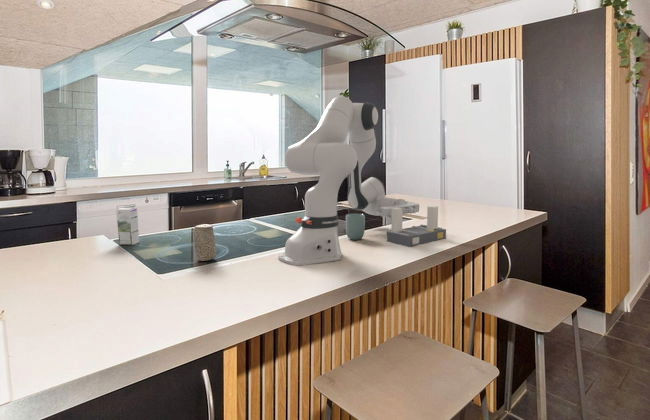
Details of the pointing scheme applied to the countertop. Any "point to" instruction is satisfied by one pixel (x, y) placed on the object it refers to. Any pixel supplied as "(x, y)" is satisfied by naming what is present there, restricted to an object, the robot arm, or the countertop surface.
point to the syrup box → (127, 225)
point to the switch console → (416, 235)
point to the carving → (204, 242)
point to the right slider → (432, 217)
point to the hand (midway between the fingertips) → (413, 211)
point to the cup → (355, 226)
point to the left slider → (396, 219)
